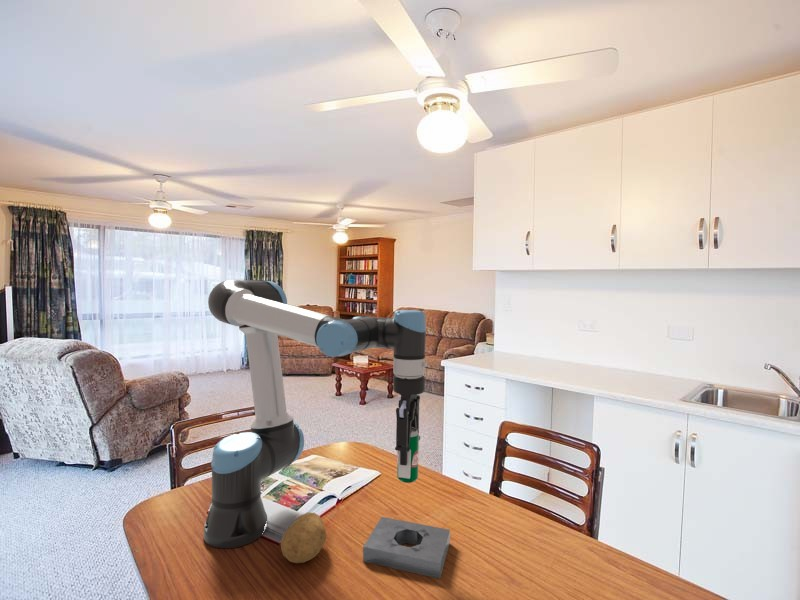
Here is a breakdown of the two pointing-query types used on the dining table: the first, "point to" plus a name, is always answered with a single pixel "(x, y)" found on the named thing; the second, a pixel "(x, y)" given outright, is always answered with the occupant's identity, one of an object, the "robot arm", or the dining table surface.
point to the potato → (303, 538)
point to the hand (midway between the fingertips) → (407, 471)
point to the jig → (416, 559)
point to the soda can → (412, 457)
